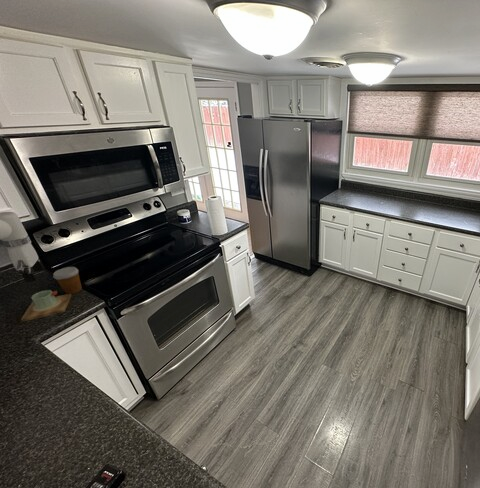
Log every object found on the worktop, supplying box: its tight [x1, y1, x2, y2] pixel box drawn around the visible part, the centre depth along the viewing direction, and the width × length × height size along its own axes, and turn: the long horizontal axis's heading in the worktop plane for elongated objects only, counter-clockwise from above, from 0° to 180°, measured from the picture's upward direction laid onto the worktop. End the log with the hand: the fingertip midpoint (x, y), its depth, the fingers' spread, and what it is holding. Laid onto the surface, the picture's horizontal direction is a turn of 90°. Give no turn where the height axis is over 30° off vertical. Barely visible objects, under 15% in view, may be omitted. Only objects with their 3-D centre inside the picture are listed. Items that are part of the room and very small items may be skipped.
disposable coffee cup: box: [52, 266, 83, 295], centre depth 135 cm, size 10×10×12 cm
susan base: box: [20, 293, 72, 323], centre depth 124 cm, size 14×14×2 cm
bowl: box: [30, 289, 61, 312], centre depth 123 cm, size 10×10×6 cm
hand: (35, 275), depth 117 cm, fingers open, 9 cm apart
